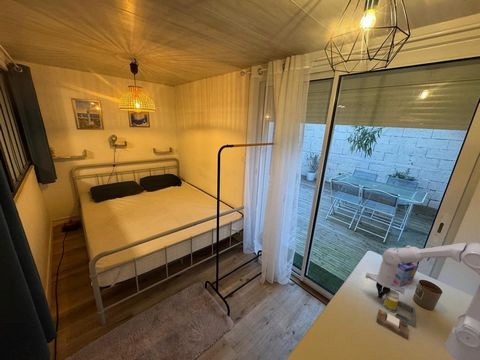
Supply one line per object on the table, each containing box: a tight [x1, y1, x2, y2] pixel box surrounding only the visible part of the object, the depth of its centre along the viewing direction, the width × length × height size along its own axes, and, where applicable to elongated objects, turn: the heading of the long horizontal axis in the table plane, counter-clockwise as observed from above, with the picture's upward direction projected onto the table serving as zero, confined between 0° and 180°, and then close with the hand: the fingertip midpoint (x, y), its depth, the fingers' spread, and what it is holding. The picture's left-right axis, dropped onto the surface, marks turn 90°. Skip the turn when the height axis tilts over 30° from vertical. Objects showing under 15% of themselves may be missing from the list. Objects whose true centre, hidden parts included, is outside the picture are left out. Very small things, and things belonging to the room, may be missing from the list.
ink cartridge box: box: [393, 262, 419, 288], centre depth 104 cm, size 10×6×14 cm, turn 109°
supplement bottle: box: [382, 289, 400, 313], centre depth 89 cm, size 5×5×8 cm
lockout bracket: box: [394, 300, 416, 328], centre depth 87 cm, size 6×9×2 cm, turn 139°
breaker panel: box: [376, 308, 409, 340], centre depth 82 cm, size 10×6×3 cm, turn 49°
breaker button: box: [385, 313, 399, 328], centre depth 82 cm, size 4×4×2 cm
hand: (379, 297), depth 92 cm, fingers closed
